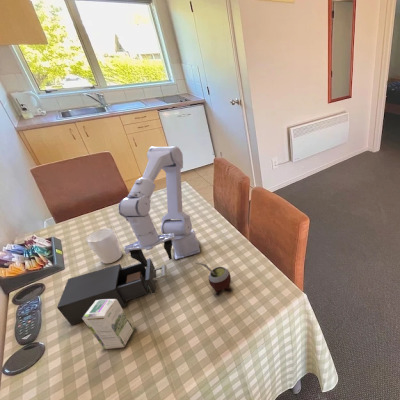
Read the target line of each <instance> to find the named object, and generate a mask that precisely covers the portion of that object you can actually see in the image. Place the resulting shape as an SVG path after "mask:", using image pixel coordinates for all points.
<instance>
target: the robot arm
mask: <svg viewBox="0 0 400 400" xmlns="http://www.w3.org/2000/svg"><path fill="white" fill-rule="evenodd" d="M183 155H184V154H183V152H182V150H181V149H180V147H179V146H177V145H176V146H175V145H173V146H150V147H149V148H148V151H147V153H146V158H147V160H148V161H147V164H146V166H145V168H144V172H143V174H142V176H141V177H140V178H137V179H136V180H135V182H134V184H133V185H132V187H131V189H130V191H129V192H128V194H127V197H125V198H122V200H120V201H119V203H118V214H119V215H120V217H122V218H124V219H125V221H126V222H128V223H129V226H130V227H131V229H132V231H133V233H134V236H135V237H136V241H135V242H132V243H129V244H127V245H124V248H123V251H124V253H125V254H126V255H128V254H130V255H129V256H130V257H131V259H134V260H136V261H137V262H138V263H142V264H143V265H144V266H145V268H146V267H147V258H146V256H145V255H144V252H143V250H146V251H150V250H154V247H156V246H159V245H161V244H163V248H164V250H165V252H166V254H167V257H168V259H169V260H172V259H173V255H172V249H173V251H174V260H179V259H180V260H181V259H183V258H186V257H190V256H193V255H196V254H200V253H201V249H200V242H199V240H198V238H197V237H198V236H197V234H196V230H195V229H193V223H192V220H191V216H190V215H189V214H187V213H186V212H184V211H183V193H182V192H183V191H182V189H183V188H182V169H184V156H183ZM162 170H163V172H164V173H165V182H166V183H165V184H166V185H165V186H166V203H167V204H166V206H167V212H166V213H165V214H164V216H162V217H161V224H160V232H161V234H158V232H157V229H156V227H155V225H154V222H153V221H152V218H151V214H150V211H151V201H152V200H151V197H152V195H153V193H154V191H155V189H156V183H155V180H156V179H157V177H158V175H159V174H160V172H161V171H162Z"/></svg>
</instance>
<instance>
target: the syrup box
mask: <svg viewBox="0 0 400 400" xmlns="http://www.w3.org/2000/svg"><path fill="white" fill-rule="evenodd" d="M82 319H83V320H84V321H83V322H84V323H85V324H86V326H87V328H88V329H89V330H90V331H91V333H92V334H93V336H94V337H95V338H96V340H97V342H99V344H100V346H101V347H102V348H103V349H104V350H109V349H119V348H120V349H121V348H125V347H126V345H127V343H128V342H129V340H130V338H131V337H132V334H133V333H134V331H135V328H134V327H133V325H132V323H131V321H130V320H129V318H128V316H127V315H126V312H125V311H124V309H123V308H121V306H120V304H119V302H118V301H117V299H102V300H96V301H95V302H94V303H93V305H92V306H91V307H90V308H89V310H88V311H87V312H86V314H85V315H84V316H83V317H82Z"/></svg>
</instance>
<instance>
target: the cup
mask: <svg viewBox="0 0 400 400" xmlns="http://www.w3.org/2000/svg"><path fill="white" fill-rule="evenodd" d="M85 242H86V243H87V245H88V247H89V249H90V250H91V251H92V252H93V253H94V254H95V255H96V257H98V259H99V260H100V262H102V264H112V263H114V262H117V261H118V260H120V259H121V257H122V256H123V253H122V250H121V246H120V242H119V240H118V236H117V234H116V233H115V231H114V229H113V228H109V227H105V228H100V229H97V230H94V231H92V232H91V233H89V234H87V236H86V237H85Z"/></svg>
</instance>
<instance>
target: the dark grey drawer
mask: <svg viewBox="0 0 400 400" xmlns="http://www.w3.org/2000/svg"><path fill="white" fill-rule="evenodd" d="M146 260H147V267H145V266H144V265H143V264H142V263H140V262H138V263H135V264H131V265H128V266H125V267H122V268H121V269H120V272H119V278H118V283H117V291H118V292H119V294H120V296H121V297H122V299H123V301H126V302H127V301H129V300H133V299H135V298H138V297H141V296H144V295H147V294H148V293H149V291H150V293H151V295H153V294H156V293H157V280H160V279H163V280H164V279H167V277H168V274H167V273H168V272H167V270H168V269H167V264H162V265H161V266H160V267H157V268H156V267H155V265H154V263H153V261H152V259H151V258H146ZM160 270H161V275H159V276H157V271H160ZM137 272H141V274H142V276H143V278H144V284H143V282H142V280H141V279H140V280H137V281H134V282H131V283H128V284H126V281H127V275H130V274H134V273H137Z"/></svg>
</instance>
